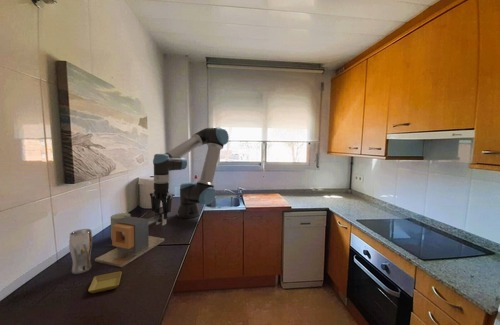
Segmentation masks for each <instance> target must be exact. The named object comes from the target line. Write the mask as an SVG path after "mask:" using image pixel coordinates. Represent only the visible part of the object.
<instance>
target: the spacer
mask: <svg viewBox="0 0 500 325" xmlns="http://www.w3.org/2000/svg"><path fill="white" fill-rule="evenodd" d="M120 232H125V240H123V239H122V236H121V235H120ZM111 243H112V244H111V245H112V246H113V247H115V248H117V247H121V248H126V249H130V248H131V247H133V246H134V226H130V225H124V224H115V225H113V226H112V240H111Z"/></svg>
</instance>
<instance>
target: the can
mask: <svg viewBox="0 0 500 325" xmlns="http://www.w3.org/2000/svg"><path fill="white" fill-rule="evenodd" d="M129 217H132V216H131V213H128V212H121V213H119V212H118V213H115V214H112V215H111V216H110V217H109V218H110V240H111V241H112V226H113V225H115V224H117V222H119V221H121V220H124V219H126V218H129Z"/></svg>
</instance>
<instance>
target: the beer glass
mask: <svg viewBox="0 0 500 325" xmlns="http://www.w3.org/2000/svg"><path fill="white" fill-rule="evenodd" d="M68 244H69V252H70V256H71V259H72V268H71V274H73V275H74V274H75V275H80V274H84V273H86V272H88V271H90V270H91V269H92V266H93V265H92V262H91V255H92V254H91V253H92V248H93V233H92V229H90V228H82V229H77V230H73V231H72V232H70V233H69V242H68Z"/></svg>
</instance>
